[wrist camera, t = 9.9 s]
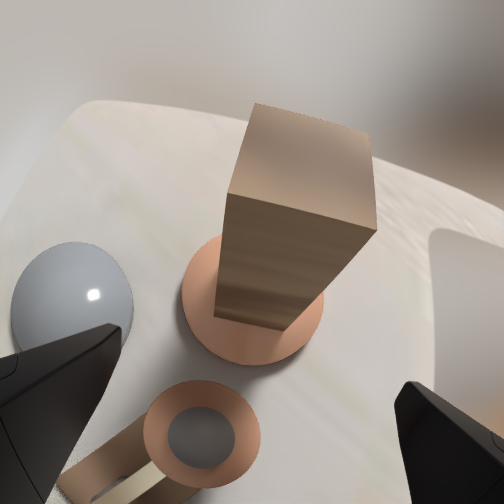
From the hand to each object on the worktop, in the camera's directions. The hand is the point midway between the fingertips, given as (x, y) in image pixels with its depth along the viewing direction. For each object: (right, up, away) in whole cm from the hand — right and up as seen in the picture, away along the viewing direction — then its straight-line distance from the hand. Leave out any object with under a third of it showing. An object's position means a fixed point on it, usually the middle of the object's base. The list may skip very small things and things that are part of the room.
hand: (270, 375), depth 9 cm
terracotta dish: (0, 0, +14) cm, 14 cm away
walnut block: (0, +1, +13) cm, 13 cm away
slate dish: (-14, -1, +12) cm, 18 cm away
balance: (-9, -12, +7) cm, 16 cm away
